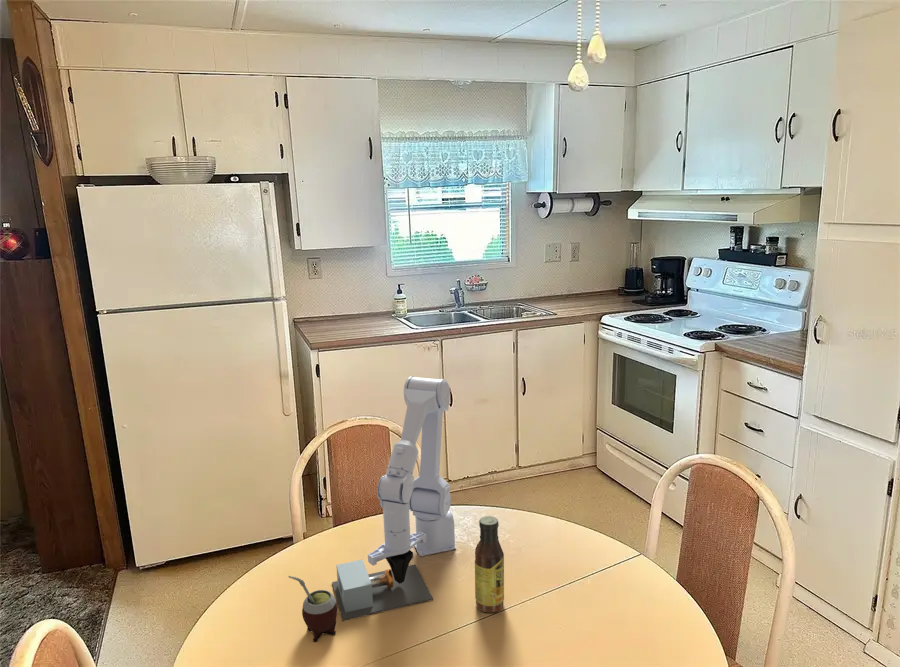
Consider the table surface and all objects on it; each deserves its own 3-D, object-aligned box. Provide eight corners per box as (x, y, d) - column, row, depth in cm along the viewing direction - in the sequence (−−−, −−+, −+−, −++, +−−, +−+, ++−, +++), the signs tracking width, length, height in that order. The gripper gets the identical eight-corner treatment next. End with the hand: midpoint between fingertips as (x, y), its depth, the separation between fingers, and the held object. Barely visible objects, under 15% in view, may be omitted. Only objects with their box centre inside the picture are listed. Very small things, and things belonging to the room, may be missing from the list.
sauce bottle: (502, 616, 133) (501, 530, 129) (473, 612, 135) (471, 527, 130) (505, 596, 140) (505, 514, 135) (477, 594, 141) (476, 512, 137)
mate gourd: (344, 623, 132) (340, 559, 129) (327, 649, 125) (322, 581, 122) (312, 618, 134) (307, 554, 131) (293, 643, 127) (287, 576, 124)
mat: (415, 565, 152) (415, 564, 152) (433, 599, 139) (433, 598, 139) (332, 583, 146) (332, 582, 146) (342, 621, 133) (342, 619, 133)
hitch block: (363, 581, 146) (362, 559, 145) (373, 607, 137) (371, 584, 136) (337, 587, 144) (336, 564, 143) (345, 614, 135) (343, 590, 134)
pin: (389, 581, 145) (388, 565, 144) (393, 591, 141) (392, 575, 140) (341, 591, 142) (340, 575, 141) (344, 602, 138) (343, 586, 137)
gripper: (412, 509, 148) (414, 561, 151) (359, 530, 139) (362, 585, 142) (431, 520, 143) (432, 574, 146) (376, 543, 134) (379, 600, 137)
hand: (399, 580), depth 143 cm, fingers closed
